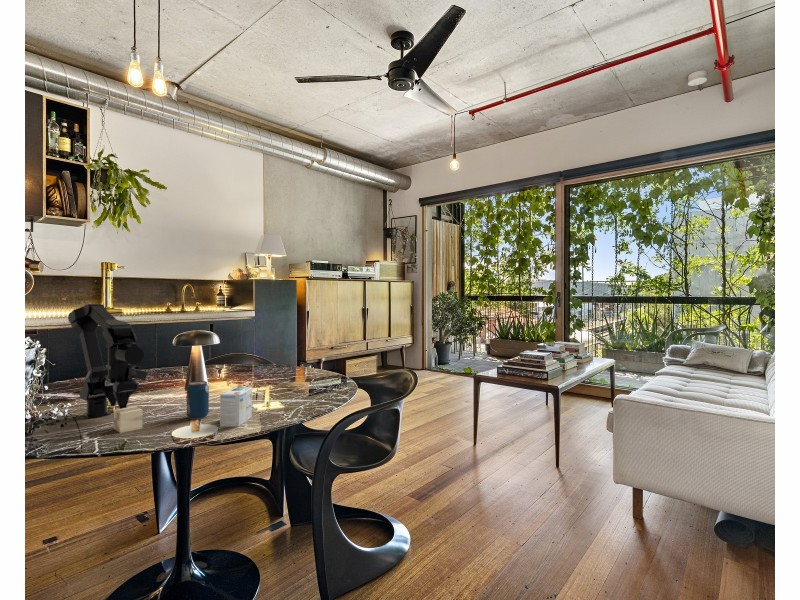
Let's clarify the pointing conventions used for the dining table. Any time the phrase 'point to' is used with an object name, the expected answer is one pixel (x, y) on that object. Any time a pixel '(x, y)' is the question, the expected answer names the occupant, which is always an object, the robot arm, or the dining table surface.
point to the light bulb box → (235, 406)
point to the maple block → (128, 419)
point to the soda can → (197, 400)
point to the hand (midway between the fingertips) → (118, 408)
